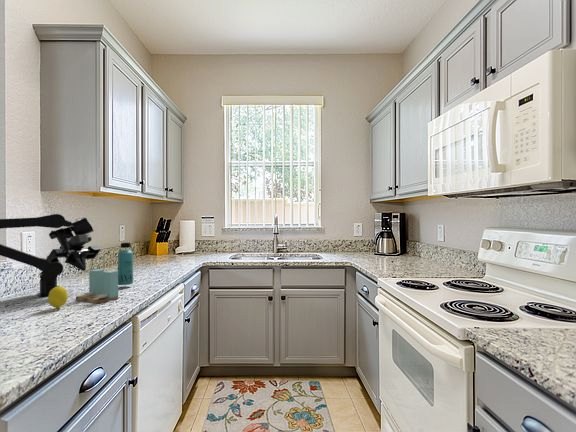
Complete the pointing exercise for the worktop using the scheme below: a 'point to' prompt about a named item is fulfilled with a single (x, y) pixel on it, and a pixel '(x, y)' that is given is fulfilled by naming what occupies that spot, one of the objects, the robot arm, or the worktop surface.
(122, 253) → the beverage bottle
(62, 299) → the lemon
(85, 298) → the board
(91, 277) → the block
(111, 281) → the fixed leg
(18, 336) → the worktop surface
